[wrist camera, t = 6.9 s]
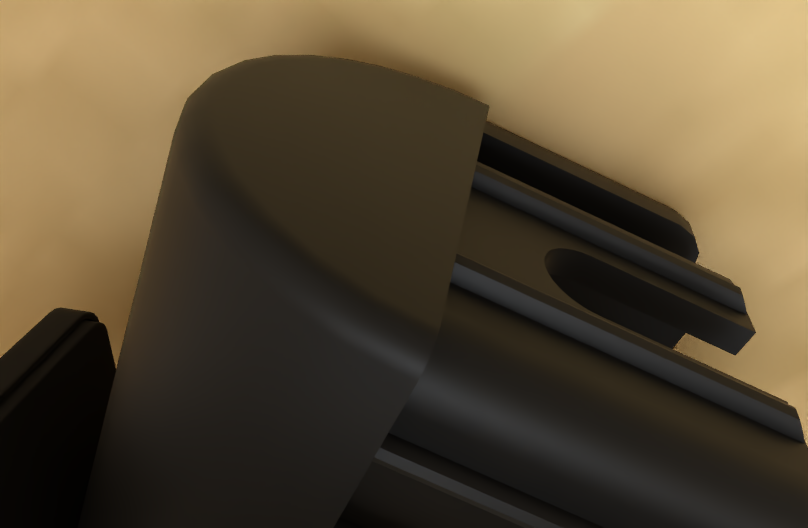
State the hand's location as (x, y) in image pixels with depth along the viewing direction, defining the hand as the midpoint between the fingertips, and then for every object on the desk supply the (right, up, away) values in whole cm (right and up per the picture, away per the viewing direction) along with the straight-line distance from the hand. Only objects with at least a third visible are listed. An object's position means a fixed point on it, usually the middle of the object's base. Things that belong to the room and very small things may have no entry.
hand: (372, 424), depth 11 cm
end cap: (0, +1, +2) cm, 3 cm away
